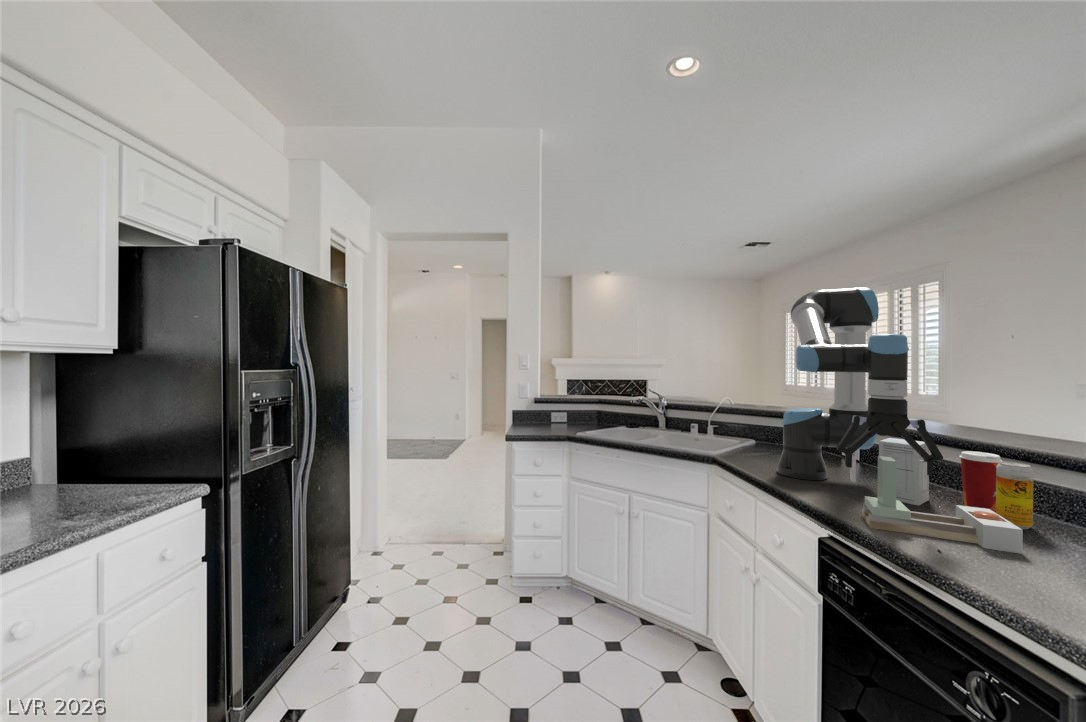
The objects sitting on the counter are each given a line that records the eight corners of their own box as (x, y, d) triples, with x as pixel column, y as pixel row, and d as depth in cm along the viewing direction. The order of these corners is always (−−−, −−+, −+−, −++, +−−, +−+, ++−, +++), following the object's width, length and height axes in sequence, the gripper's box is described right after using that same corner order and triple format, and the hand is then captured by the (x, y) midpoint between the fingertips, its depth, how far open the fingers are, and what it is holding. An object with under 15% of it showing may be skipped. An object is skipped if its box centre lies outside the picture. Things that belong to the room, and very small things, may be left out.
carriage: (864, 503, 110) (864, 453, 110) (898, 508, 106) (899, 456, 106) (873, 515, 101) (873, 460, 101) (910, 520, 98) (911, 464, 98)
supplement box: (930, 500, 122) (930, 442, 122) (919, 506, 117) (920, 445, 117) (889, 491, 130) (889, 437, 130) (877, 497, 125) (878, 440, 125)
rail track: (862, 515, 110) (862, 504, 110) (960, 529, 101) (960, 516, 101) (870, 527, 102) (870, 515, 102) (977, 543, 93) (977, 529, 93)
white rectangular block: (955, 525, 104) (955, 505, 104) (989, 530, 101) (989, 509, 101) (983, 548, 91) (983, 524, 91) (1022, 553, 88) (1022, 529, 88)
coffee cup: (1011, 515, 111) (1011, 457, 111) (974, 512, 112) (974, 456, 112) (985, 504, 119) (985, 451, 119) (950, 502, 121) (950, 449, 121)
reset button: (970, 527, 99) (970, 509, 99) (994, 530, 97) (994, 512, 97) (978, 533, 95) (978, 515, 95) (1003, 536, 93) (1003, 518, 93)
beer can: (1006, 528, 102) (1006, 465, 102) (989, 519, 108) (990, 460, 108) (1039, 531, 100) (1040, 468, 100) (1021, 522, 106) (1022, 462, 106)
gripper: (828, 396, 106) (828, 481, 106) (962, 401, 95) (961, 496, 95) (824, 394, 113) (823, 474, 113) (948, 398, 102) (947, 487, 102)
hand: (886, 484), depth 104 cm, fingers open, 13 cm apart
